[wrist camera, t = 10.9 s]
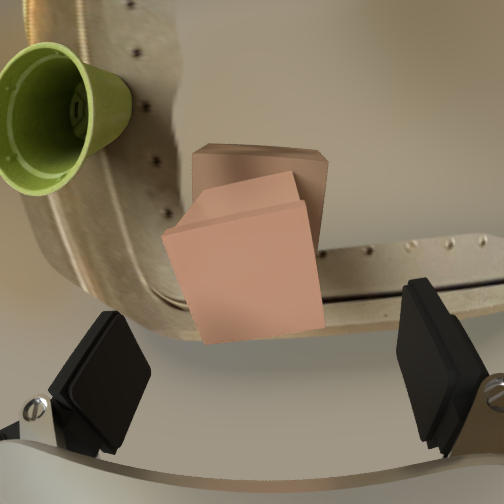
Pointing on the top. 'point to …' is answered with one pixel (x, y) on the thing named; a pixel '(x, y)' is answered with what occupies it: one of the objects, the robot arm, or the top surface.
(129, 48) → the top surface
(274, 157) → the walnut box
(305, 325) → the peach lipped block
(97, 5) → the top surface
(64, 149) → the plant pot
